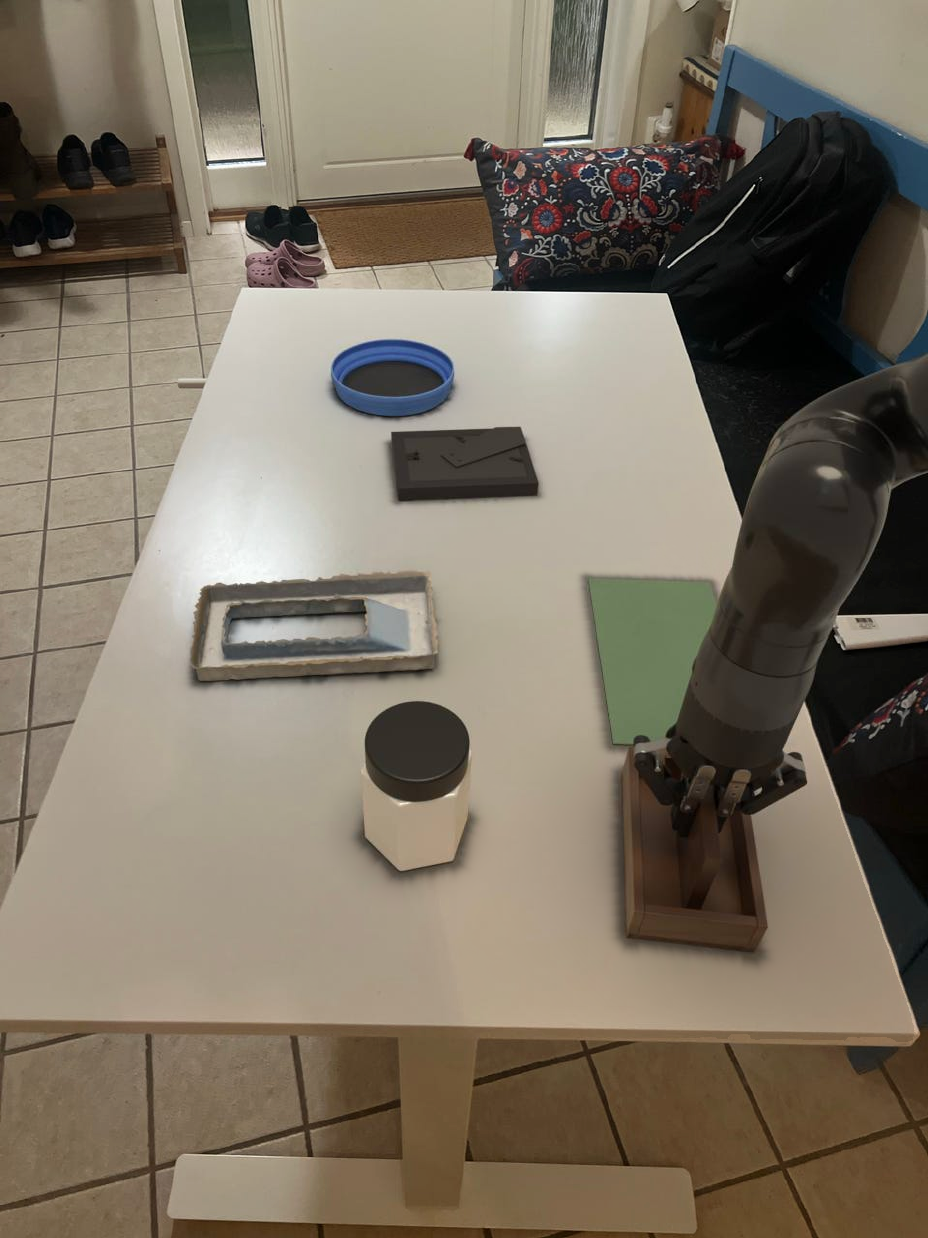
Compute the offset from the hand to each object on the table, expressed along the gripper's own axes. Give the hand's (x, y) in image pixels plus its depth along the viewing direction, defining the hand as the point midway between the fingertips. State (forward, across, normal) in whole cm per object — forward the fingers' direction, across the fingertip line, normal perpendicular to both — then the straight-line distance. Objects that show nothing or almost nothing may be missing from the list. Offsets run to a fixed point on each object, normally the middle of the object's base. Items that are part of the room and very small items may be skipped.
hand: (693, 829), depth 73 cm
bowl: (+4, -38, +75) cm, 84 cm away
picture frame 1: (+4, -37, +22) cm, 43 cm away
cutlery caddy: (+4, 0, 0) cm, 4 cm away
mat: (+4, 0, +24) cm, 24 cm away
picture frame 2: (+4, -25, +55) cm, 61 cm away
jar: (+4, -23, 0) cm, 23 cm away
